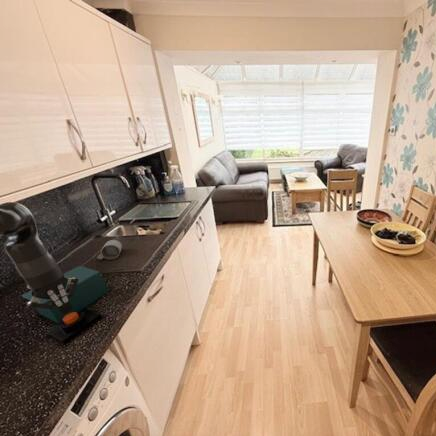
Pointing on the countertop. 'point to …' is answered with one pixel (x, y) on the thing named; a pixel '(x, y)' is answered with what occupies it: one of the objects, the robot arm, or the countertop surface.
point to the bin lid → (78, 272)
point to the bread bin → (79, 298)
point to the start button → (70, 318)
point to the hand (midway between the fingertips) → (67, 311)
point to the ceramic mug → (110, 250)
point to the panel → (74, 326)
